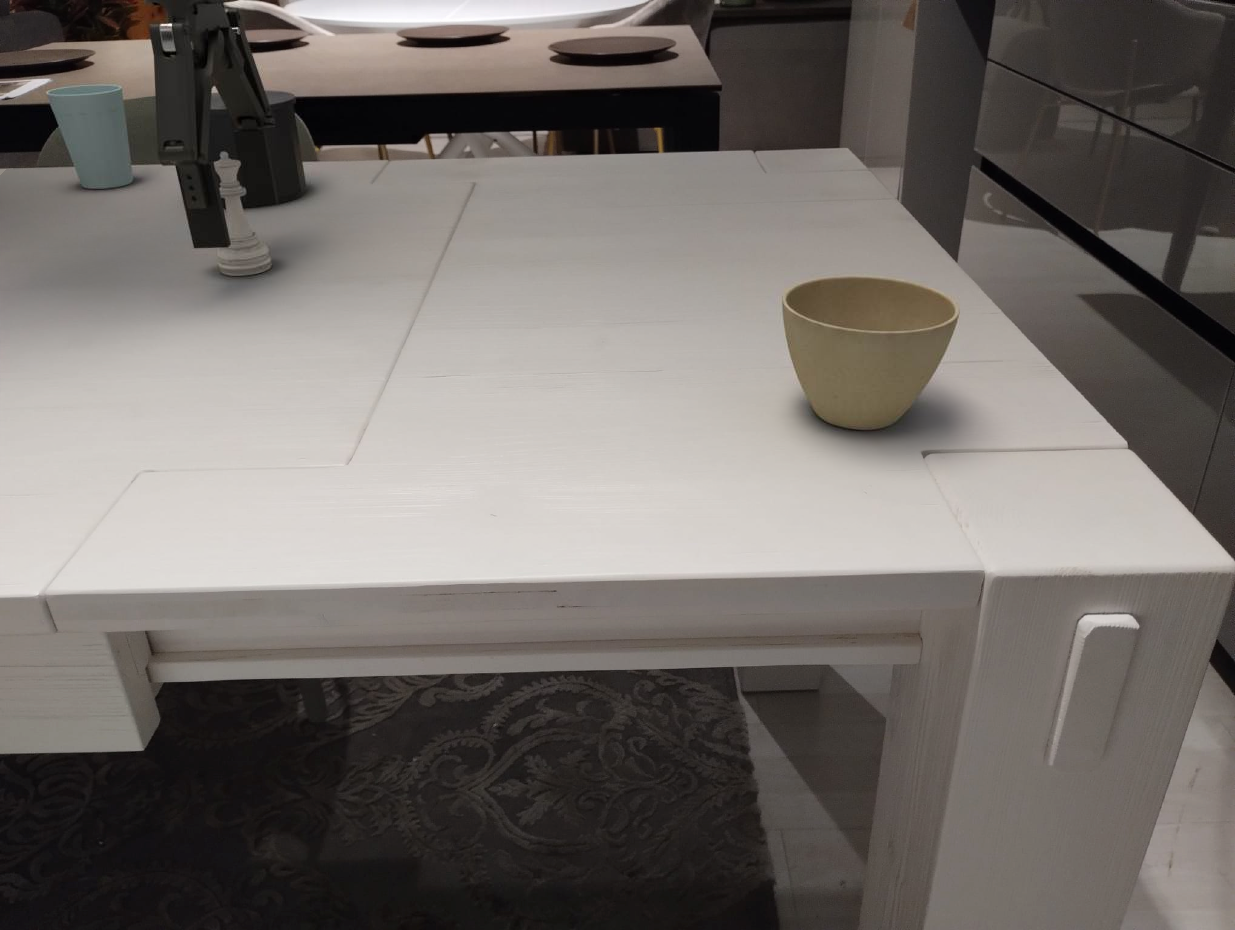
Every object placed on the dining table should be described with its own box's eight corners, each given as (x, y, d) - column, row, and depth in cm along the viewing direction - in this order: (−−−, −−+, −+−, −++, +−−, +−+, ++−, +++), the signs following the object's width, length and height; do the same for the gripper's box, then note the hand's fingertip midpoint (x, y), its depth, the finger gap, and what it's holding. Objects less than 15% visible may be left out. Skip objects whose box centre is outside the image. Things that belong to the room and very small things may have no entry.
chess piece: (240, 259, 91) (218, 144, 86) (282, 263, 90) (262, 147, 85) (208, 273, 88) (183, 155, 83) (252, 278, 86) (229, 158, 82)
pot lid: (158, 122, 103) (142, 51, 99) (200, 102, 113) (187, 37, 110) (278, 120, 103) (266, 49, 99) (309, 100, 113) (299, 36, 110)
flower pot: (946, 458, 57) (966, 338, 53) (767, 441, 59) (775, 325, 55) (938, 385, 65) (954, 278, 62) (781, 373, 67) (788, 269, 64)
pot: (182, 209, 107) (162, 115, 103) (218, 183, 117) (201, 97, 113) (290, 207, 107) (274, 113, 103) (317, 182, 117) (304, 95, 113)
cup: (58, 185, 118) (33, 90, 113) (123, 173, 123) (101, 82, 118) (89, 195, 113) (64, 97, 108) (154, 182, 118) (133, 88, 113)
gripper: (170, -52, 66) (236, 267, 76) (279, -59, 88) (319, 188, 98) (55, -49, 66) (136, 269, 76) (192, -57, 88) (241, 190, 98)
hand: (239, 224), depth 87 cm, fingers open, 13 cm apart
